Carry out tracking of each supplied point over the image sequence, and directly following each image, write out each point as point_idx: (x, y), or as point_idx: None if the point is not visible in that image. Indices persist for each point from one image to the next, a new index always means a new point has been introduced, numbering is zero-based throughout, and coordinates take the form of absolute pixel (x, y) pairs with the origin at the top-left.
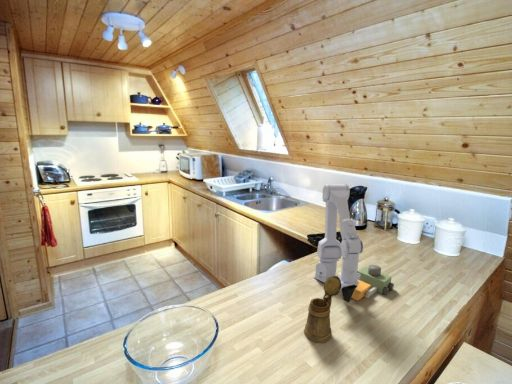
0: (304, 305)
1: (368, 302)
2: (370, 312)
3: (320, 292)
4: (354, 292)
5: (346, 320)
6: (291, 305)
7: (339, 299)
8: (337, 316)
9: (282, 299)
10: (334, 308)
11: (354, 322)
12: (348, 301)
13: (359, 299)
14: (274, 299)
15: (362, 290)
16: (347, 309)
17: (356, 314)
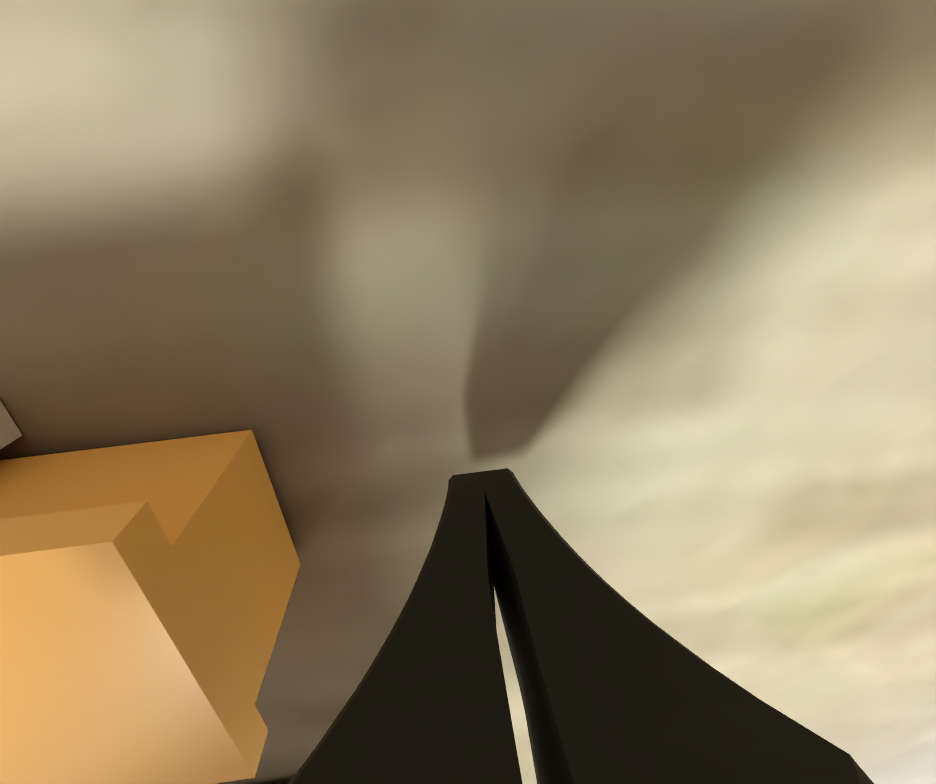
0: (863, 644)
1: (70, 305)
2: (303, 50)
3: None
4: (225, 589)
5: (882, 196)
6: (931, 682)
7: None
8: (857, 346)
9: (884, 750)
10: (702, 479)
11: (862, 57)
12: (508, 474)
13: (193, 438)
14: (920, 765)
15: (2, 566)
16: (588, 375)
17: (601, 199)
